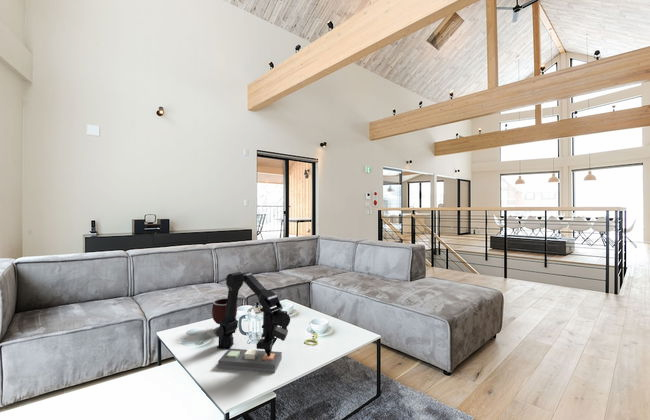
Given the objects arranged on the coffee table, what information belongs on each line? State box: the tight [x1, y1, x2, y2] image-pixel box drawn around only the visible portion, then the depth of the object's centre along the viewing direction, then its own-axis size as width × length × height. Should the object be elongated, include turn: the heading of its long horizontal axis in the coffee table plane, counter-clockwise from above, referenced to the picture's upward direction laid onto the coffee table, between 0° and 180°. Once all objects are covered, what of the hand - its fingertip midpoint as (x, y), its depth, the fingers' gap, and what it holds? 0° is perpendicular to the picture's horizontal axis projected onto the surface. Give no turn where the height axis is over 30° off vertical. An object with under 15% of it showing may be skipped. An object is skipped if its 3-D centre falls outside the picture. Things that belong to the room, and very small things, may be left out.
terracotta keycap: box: [263, 353, 275, 361], centre depth 142 cm, size 5×5×2 cm
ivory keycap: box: [244, 348, 259, 359], centre depth 143 cm, size 5×5×2 cm
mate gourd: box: [211, 297, 238, 335], centre depth 181 cm, size 16×14×20 cm
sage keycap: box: [227, 351, 240, 358], centre depth 144 cm, size 5×5×2 cm
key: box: [304, 332, 319, 346], centre depth 169 cm, size 7×12×2 cm, turn 0°
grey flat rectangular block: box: [217, 347, 283, 374], centre depth 143 cm, size 26×12×4 cm, turn 84°
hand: (268, 355), depth 142 cm, fingers closed, pressing on terracotta keycap
